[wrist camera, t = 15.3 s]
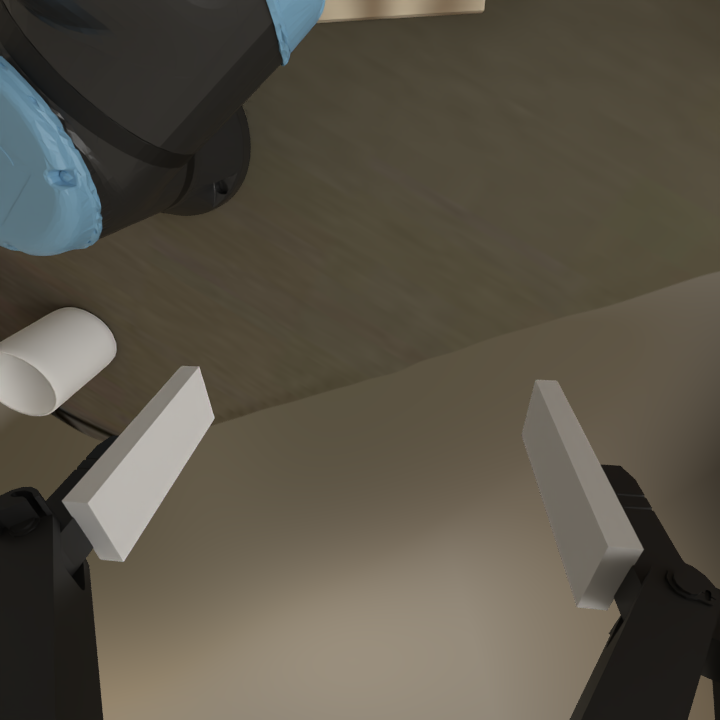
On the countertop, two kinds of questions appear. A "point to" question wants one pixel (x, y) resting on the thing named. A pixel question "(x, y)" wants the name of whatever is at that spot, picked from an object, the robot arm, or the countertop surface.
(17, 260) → the countertop surface
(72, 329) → the mug
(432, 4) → the board
